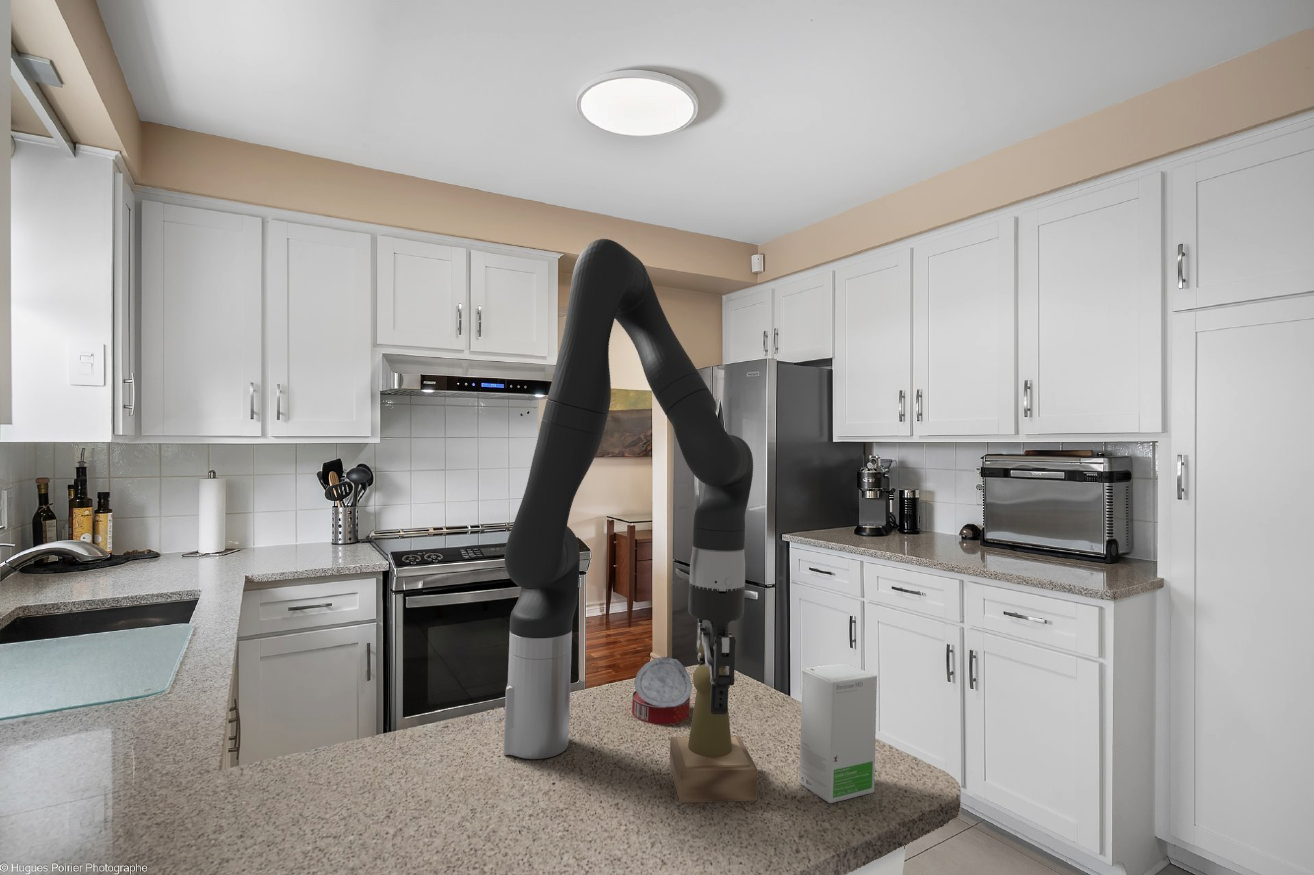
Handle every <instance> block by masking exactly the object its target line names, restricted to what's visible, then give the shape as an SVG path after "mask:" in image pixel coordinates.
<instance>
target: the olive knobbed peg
mask: <svg viewBox="0 0 1314 875" xmlns="http://www.w3.org/2000/svg"><path fill="white" fill-rule="evenodd" d="M719 675H725V671H724V668H719ZM692 677H693V678H692V680H693V681H692V684H693V687H694V688H695V689H696V693H695V699H694V705H693V706H694V707H693V712H692V717H691V720H692V721H691V725H690V731H689V736H688V737H689V742H688V748H689V749H690V751H692V752H693V753H695V754H698V755H700V756H705V757H721V756H725V755H727V754H729V753H730V752H731V751H732V744H731V736H732V735H731V724H730V715H729V710H728V711H727V713H726V714H712V713H711V711H710V691H711V682H710V669H709V668H707V667H706V664H703V665H700V666H699V665H698V666H697V667H696V668H695V669H694V672H693V674H692ZM730 688H731V685H729V688H728V690H729V689H730Z"/></svg>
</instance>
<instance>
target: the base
mask: <svg viewBox="0 0 1314 875" xmlns="http://www.w3.org/2000/svg"><path fill="white" fill-rule="evenodd" d="M669 738H670V742H669V743H670V744H669V745H670V746H669V768H670V772H671V775H672V780H673V782H674V787H675V790H676V794H677V797H678V801H679V803H680V804H682V803H683V804H685V803H687V804H690V803H719V802H721V803H722V802H724V803H725V802H754V801H756V802H757V800H758V773H759V772H758V770H759V769H758V767H757V765H756V764H755V761H754V760H753V758H752V757H751V755H750V753H749V751H748V749H747V747H746V745H745V743H744V741H743V739H742V738H741V736H740V735H731V744H732V751H731V752H730V753H729V754H727V755H725V756H721V757H705V756H700V755H698V754H695V753H693V752H692V751H690V749H689V748H688V742H689V736H670V737H669Z"/></svg>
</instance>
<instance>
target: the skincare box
mask: <svg viewBox="0 0 1314 875" xmlns="http://www.w3.org/2000/svg"><path fill="white" fill-rule="evenodd" d="M801 674H802V675H801V677H802V684H801V686H802V688H801V711H800V712H801V716H800V717H801V720H800V744H799V745H800V746H799V747H800V748H799V749H800V750H799V774H798V775H799V776H798V778H799V780H798V782H799V784H800V785H802V786H803V787H804V788H805V789H808V791H810V792H812V794H814V795H816V796H817V797H819V798H821V799H822V800H823V801H825V802H827V803H828V804H833V803H837V802H841V801H845V800H849V799H852V798H856V797H857V798H858V797H860V796H864V795H869V794H873V793H874V792H875V776H876V774H875V772H876V770H875V769H876V768H875V767H876V764H875V763H876V733H877V732H876V730H877V729H876V728H877V691H878V690H877V689H878V686H877V685H878V684H877V683H878V675H877V674H874V673H873V672H869V671H866V670H865V669H864V670H863V669H862V668H858V667H856V666H853V665H851V664H848V663H838V664H822V665H819V666H811V667H802V669H801Z"/></svg>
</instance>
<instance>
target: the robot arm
mask: <svg viewBox="0 0 1314 875" xmlns="http://www.w3.org/2000/svg"><path fill="white" fill-rule="evenodd" d="M566 311H567V312H566V318H565V324H564V329H563V334H562V339H561V343H560V346H559V350H558V355H557V358H556V359H557V360H556V364H555V367H554V371H553V372H554V373H553V376H552V380H551V384H550V386H549V390H548V394H547V399H546V402H545V406H544V409H543V414H542V418H541V422H540V427H539V432H538V437H537V440H536V444H535V449H534V452H533V456H532V460H531V461H532V462H531V465H530V469H529V475H528V479H527V483H526V485H525V486H526V488H525V490H524V494H523V496H522V500H521V502H520V505H519V508H518V511H517V513H516V516H515V518H514V521H513V523H512V526H511V529H510V533H509V534H508V535H509V536H508V537H507V542H506V545H505V548H504V555H503V556H504V558H503V560H504V567H505V569H506V573H507V575H508V576H509V578H510V580H511V581H512V582H513V583H514V584H515V585H516V586H518V587H519V588H520V592H519V596H518V599H517V601H516V604H515V605H514V607H513V609H512V610H511V612H510V616H509V617H510V618H509V641H508V644H509V646H508V668H507V669H508V670H507V684H506V687H505V702H504V729H503V730H504V732H503V734H504V736H503V755H504V756H513V757H516V758H520V759H527V760H528V759H529V760H538V759H539V760H543V759H547V758H552V757H555V756H557V755H560V754H562V753H563V752H564V751H566V750H567V748H568V746H569V736H570V709H571V708H570V705H571V704H570V703H571V675H572V674H571V669H572V643H573V642H572V639H573V621H574V620H573V619H574V616H575V613H576V610H577V605H578V599H579V598H578V596H579V584H580V583H579V582H580V567H581V566H580V565H581V562H580V561H581V553H580V546H579V541H578V538H577V536H576V534H575V533H574V531H573V530H572V529H571V527H570V526H568V523H569V518H570V514H571V510H572V506H573V502H574V499H575V497H576V495H577V492H578V490H579V488H580V486H581V484H582V483H583V480H584V478H585V477H586V476H587V473H588V471H589V469H590V467H591V465H592V464H593V462H594V460H595V457H596V456H597V453H598V450H599V449H600V446H601V442H602V439H603V437H604V433H605V429H606V425H607V421H608V416H609V412H610V407H611V400H612V387H611V386H612V385H611V384H612V382H611V371H610V370H611V369H610V357H609V356H610V354H609V350H610V339H611V334H612V329H613V326H614V322H615V320H616V321H617V322H618V324H619V325H620V326H621V327H622V329H624V331H625V332H626V334H627V335H628V337H629V338H630V340H631V342H632V344H633V345H634V348H635V350H636V352H637V354H638V357H639V360H640V364H641V367H642V370H643V372H644V375H645V378H646V381H647V383H648V386H649V388H650V390H651V392H652V394H653V396H654V397H655V400H657V403H658V404H659V406H660V407H661V408H660V409H662V411H663V412H664V414H665V416H666V418H667V419H668V422H669V423H670V424H671V426H672V427H673V431H674V435H675V438H676V440H677V442H678V445H679V448H680V451H681V454H682V456H683V460H685V463H686V465H687V467H688V468H689V470H690V471H691V472H692V474H693V475H694V477H696V479H698V481H700V482H701V483H703V484H704V490H703V497H702V502H701V503H700V504H699V505H697V507H696V509H695V510H694V516H693V527H692V528H693V529H692V530H693V531H692V533H693V534H692V549H691V550H692V551H691V556H690V561H689V562H690V563H689V580H688V581H689V582H688V604H687V605H688V607H687V608H688V609H687V610H688V614H689V615H690V616H692V617H693V618H695V619H697V626H696V643H695V644H696V646H695V651H696V653H698V654H697V659H698V662H699V665H698V666H700V665H703V664H706V667H707V668H709V669H710V682H711V691H710V711H711V713H712V714H726V713H727V711H728V712H729V689H730V688H729V685H730V686H735V682H736V681H735V665H736V664H735V662H736V659H735V658H736V644H737V642H736V638H735V636H733V633H732V632H729V630H730V629H729V628H730V627H729V623H731V622H732V621H734V622H736V621H738V620H741V619H742V618H743V617H744V613H745V593H746V592H745V591H746V590H745V589H746V588H745V585H746V557H745V541H746V538H745V537H746V536H745V535H746V512H747V506H748V504H749V503H748V502H749V500H750V499H749V498H750V494H751V488H752V483H753V475H754V458H753V452H752V451H751V448H750V446H749V444H748V443H747V442H746V441H745V440H743V439H742V438H741V437H739V436H737V435H733V434H728V432H727V431H726V429H725V428H724V425H723V424H722V422H721V420H720V417H718V415H717V410H718V408H717V406H718V405H717V402H716V400H715V397H714V396H713V394H712V392H711V390H710V389H709V387H708V385H707V384H706V382H705V381H704V379H703V377H702V376H701V374H700V373H699V371H698V369H697V367H696V366H695V364H694V363H693V361H692V360H691V358H690V357H689V355H688V353H687V352H686V350H685V349H684V346H683V345H682V344H681V342H680V341H679V339H678V337H677V335H676V333H675V332H674V330H673V328H672V327H671V325H670V323H669V321H668V319H667V317H666V314H665V313H664V310H663V308H662V306H661V303H660V301H659V299H658V296H657V293H656V290H655V287H654V286H653V283H652V281H651V277H650V276H649V273H648V271H647V268H646V266H645V265H644V263H643V262H642V261H641V260H640V259H639V258H638V257H637V256H636V255H634V254H633V253H632V252H630V251H629V250H628V249H627V248H625V247H624V246H623V245H622V244H620V243H618V242H617V241H614V240H612V239H609V238H599V239H596V240H594V241H592V242H590V243H589V244H587V245H586V246H585V247H584V248H583V249H582V251H581V252H580V253H579V256H578V257H577V259H576V262H575V265H574V267H573V272H572V276H571V282H570V289H569V296H568V302H567V309H566ZM719 668H724V671H725V675H719ZM728 688H729V689H728Z"/></svg>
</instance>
